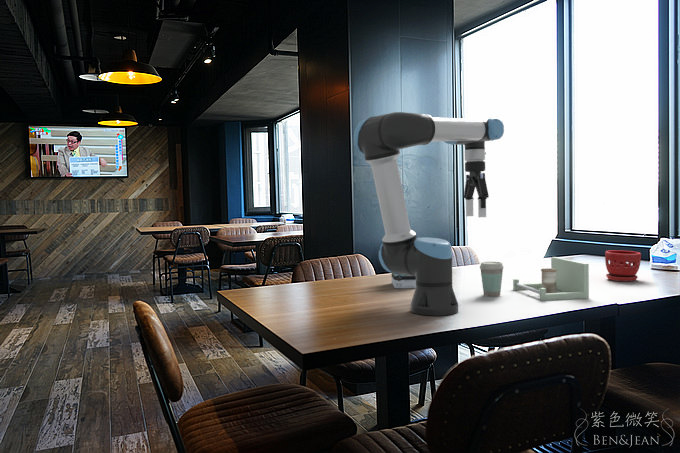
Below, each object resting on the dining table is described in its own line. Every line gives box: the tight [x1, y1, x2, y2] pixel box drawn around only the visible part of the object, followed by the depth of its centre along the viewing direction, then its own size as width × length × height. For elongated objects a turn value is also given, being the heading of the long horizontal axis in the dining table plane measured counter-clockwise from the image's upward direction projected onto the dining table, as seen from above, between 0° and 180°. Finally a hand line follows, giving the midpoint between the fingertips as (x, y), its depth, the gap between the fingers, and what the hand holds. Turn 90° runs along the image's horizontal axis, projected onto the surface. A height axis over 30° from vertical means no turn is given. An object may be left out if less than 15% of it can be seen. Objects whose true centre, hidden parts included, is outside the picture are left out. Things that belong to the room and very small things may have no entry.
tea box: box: [391, 273, 416, 289], centre depth 224 cm, size 15×10×15 cm
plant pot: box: [604, 249, 642, 282], centre depth 222 cm, size 13×13×12 cm
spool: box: [540, 267, 558, 293], centre depth 197 cm, size 5×5×9 cm
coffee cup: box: [479, 261, 504, 298], centre depth 197 cm, size 8×8×12 cm
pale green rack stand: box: [512, 256, 590, 301], centre depth 197 cm, size 17×23×12 cm
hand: (475, 216), depth 205 cm, fingers open, 13 cm apart
